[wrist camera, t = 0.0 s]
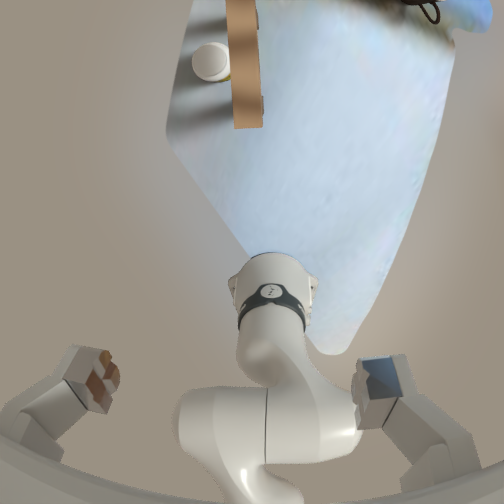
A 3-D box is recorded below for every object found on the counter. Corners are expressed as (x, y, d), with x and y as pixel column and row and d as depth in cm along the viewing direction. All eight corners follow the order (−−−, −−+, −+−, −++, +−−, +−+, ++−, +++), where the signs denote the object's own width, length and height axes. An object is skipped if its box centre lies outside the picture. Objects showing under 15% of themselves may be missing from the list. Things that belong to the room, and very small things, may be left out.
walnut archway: (266, 112, 49) (262, 127, 32) (248, 113, 49) (234, 128, 33) (260, 13, 40) (252, -23, 23) (242, 15, 40) (224, -21, 24)
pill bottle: (212, 87, 47) (196, 88, 38) (197, 57, 45) (178, 51, 35) (246, 73, 46) (238, 70, 36) (231, 42, 43) (220, 32, 34)
